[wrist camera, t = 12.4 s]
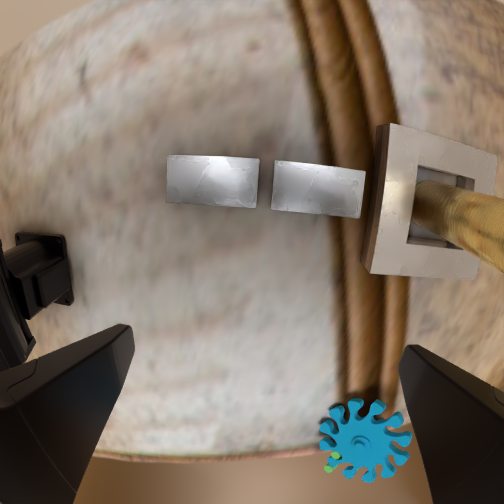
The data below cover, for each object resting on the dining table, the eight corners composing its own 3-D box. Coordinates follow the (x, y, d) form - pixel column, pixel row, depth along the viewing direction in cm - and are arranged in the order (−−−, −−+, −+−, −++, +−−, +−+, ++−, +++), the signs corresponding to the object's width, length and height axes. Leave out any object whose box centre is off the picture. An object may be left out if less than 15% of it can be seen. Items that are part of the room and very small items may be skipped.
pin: (400, 215, 20) (516, 279, 8) (419, 172, 19) (546, 200, 7) (434, 234, 20) (544, 302, 9) (451, 194, 19) (571, 236, 7)
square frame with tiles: (170, 245, 22) (160, 256, 19) (176, 107, 19) (165, 102, 16) (538, 276, 21) (551, 283, 19) (555, 188, 18) (570, 192, 16)
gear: (364, 382, 23) (428, 457, 17) (385, 364, 27) (441, 428, 22) (292, 437, 27) (344, 500, 22) (321, 417, 32) (368, 473, 26)
